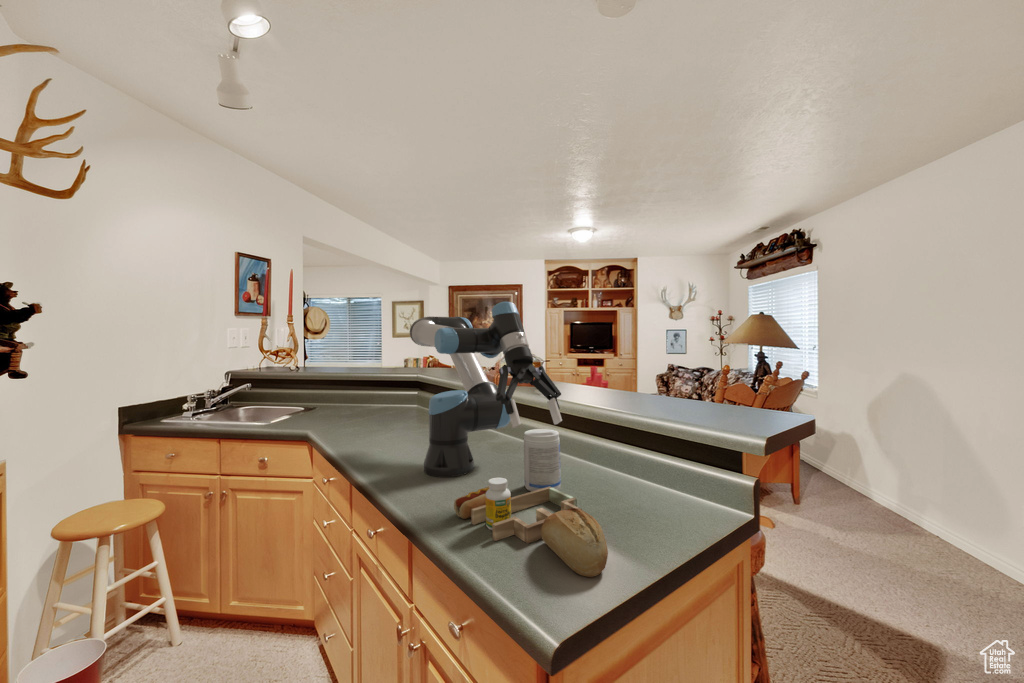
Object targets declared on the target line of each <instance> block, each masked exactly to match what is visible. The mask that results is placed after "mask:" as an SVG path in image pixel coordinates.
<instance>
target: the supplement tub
mask: <svg viewBox="0 0 1024 683" xmlns="http://www.w3.org/2000/svg"><path fill="white" fill-rule="evenodd" d="M523 463H524V464H523V465H524V466H523V467H524V468H523V469H524V473H523V474H524V487H525V489H526V490H527V491H528V492H532V491H535V490H539V489H542V488H546V487H549V486H550V487H552V488H554V489H557V490H559V491H560V489H561V486H562V482H561V481H562V480H561V478H562V476H561V475H562V474H561V441H560V432H559V431H557V430H555V429H550V428H549V429H548V428H534V429H529V430H526V431H524V432H523Z"/></svg>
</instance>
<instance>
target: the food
mask: <svg viewBox="0 0 1024 683" xmlns="http://www.w3.org/2000/svg"><path fill="white" fill-rule="evenodd" d="M488 489H489V487H488V486H486V487H484V488H479V489H478V490H476V491H471V492H468V493H467V494H465V495H462V496H460V497H457V498H455V500H454V502H453V509H454V512H455V513H456V514H455V515H456V516H457V517H459V518H461V519H463V520H465V519H469V518H471V509H473V508H477V507H480V506H484V505H486V498H485V495H486V492H487V490H488Z"/></svg>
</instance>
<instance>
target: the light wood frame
mask: <svg viewBox="0 0 1024 683" xmlns="http://www.w3.org/2000/svg"><path fill="white" fill-rule="evenodd" d="M546 502H551V503H553V504H555V505H557V506H558V507H560V511H561V510H568V509H571V508H576V509H580V510H583V509H582V508H581V507H578V498H576V497H574V496H572V495H571V494H567V493H565V492H563V491H561V490H560V489H559V490H557V489H554V488H552V487H550V486H549V487H546V488H542V489H539V490H535V491H532V492H531V491H528V492H526V493H522V494H519V495H515V496H512V497H511V514H512V513H515V512H519V511H522V510H525V509H528V508H531V507H534V506H538V505H541V504H544V503H546ZM535 512H536V513H535V514H536V516H535V519H536V521H535V522H532V523H530V524H528V523H526V522H525V521H523V520H522V519H520V518H519V517H517V516H513V517H512V516H511V518H509V519H506V520H503V521H500V522H497V523H494V524H492V530H491V531H492V532H491V533H492V540H493V541H495V542H497V541H500V540H502V539H506V538H508V537H510V536H514V535H515V537H517V538H518V539H520V540H521V541H523V542H524V543H526V544H528V545H529V544H531V543H534V542H536V541H538V540H541V539H542V536H541V528H542V525H543V523H544V520H545V519H546V518H547V517H548V516H550V515H551V514H553V513H552V512H550V511H549V510H547V509H545V508H543V507H540V508H536V509H535ZM470 518H471V524H472V525H473V526H474V525H477V524H478V525H479V524H480V523H484V522H486V505H484V506H480V507H477V508H473V509H471V517H470ZM542 540H543V539H542Z"/></svg>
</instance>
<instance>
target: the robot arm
mask: <svg viewBox="0 0 1024 683" xmlns="http://www.w3.org/2000/svg"><path fill="white" fill-rule="evenodd" d="M491 316H492V319H493V321H492V322H491V324H490V325H489V327H487V328H485V327H483V328H481V327H473V325H472V323H471V321H470V320H469V319H468V318H466V317H461V316H424V317H421V318H419V319H416V320H415V321H414V322H412V324H411V326H410V328H409V336H410V339H411V341H412V342H413V343H414V344H416V345H418V346H421V347H428V348H429V347H431V348H432V347H433V348H435V350H436V352H437V353H438V354H443V355H444V354H445V355H449V356H450V358H451V361H452V362H453V365H454V368H455V369H456V373H457V374H458V376H459V379H460V380H461V383H462V386H463V387H464V389H457V390H449V391H448V390H447V391H442V392H440V393H437V394H434V395H432V396H431V397H430V398H429V401H428V410H427V411H428V431H429V432H428V437H429V438H428V440H429V442H428V443H429V444H428V448H427V451H426V453H425V454H426V455H425V458H424V462H423V473H424V474H427V475H428V476H431V477H441V478H446V477H448V478H449V477H450V478H451V477H457V476H462V474H463V475H466V474H468V473H470V472H472V471H473V470H474V467H475V461H474V456H473V455H472V451H471V448H470V445H469V442H468V441H469V440H468V437H469V433H474V432H480V431H487V430H498V429H500V428H505V427H507V426H508V425H509V423H510V422H511V423H510V424H511V427H512V429H516V428H518V427H519V426H520V425H522V422H521V419H520V418H521V417H520V415H519V411H518V410H519V409H518V408H517V404H516V400H515V399H514V398H513V399H512V397H513V395H514V392H515V391H516V389H517V386H518V384H520V385H521V384H529V385H531V386H533V387H534V388H535V389H536V390H538V392H540V393H541V395H542V396H544V397H545V398H546V399H547V400H548V401H547V402H546V403H547V407H548V409H549V413H550V415H551V419H552V422H553V425H558V424H560V423H562V422H563V419H562V415H561V412H560V405H559V401H558V398H560V396H562V392H561V391H560V390H559V388H558V387H557V386H556V385H555V383H554V382H553V381H552V379H551V378H550V376H549V375H548V374H547V373H546V372H547V371H546V370H545V368H544V366H543V365H540V366H538V367H535V366H534V358H533V355H532V351H531V348H530V346H529V342H528V339H527V336H526V333H525V329H524V326H523V322H522V319H521V317H520V313H519V310H518V308H517V306H516V304H515V303H513V302H512V301H501V302H498V303H496V304H495V305H494V306H493V307H492V309H491ZM501 353H502V354H503V356H504V361H505V364H504V365H502V366H501V367H500V368H499V369H498V372H499V380H498V385H497V384H495V383H494V382H493V381H490V380H489V379H488V377H487V376H488V375H487V374H486V373H485V372H486V371H485V370H484V368H483V366H482V365H481V363H480V360H479V359H478V356H477V355H476V354H480V355H482V357H484V358H487V359H494V358H496V357H498V356H499V354H501ZM509 375H510V376H511V379H510V381H509V385H508V387H507V384H508V380H509V379H508V378H509ZM465 473H466V474H465Z"/></svg>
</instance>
